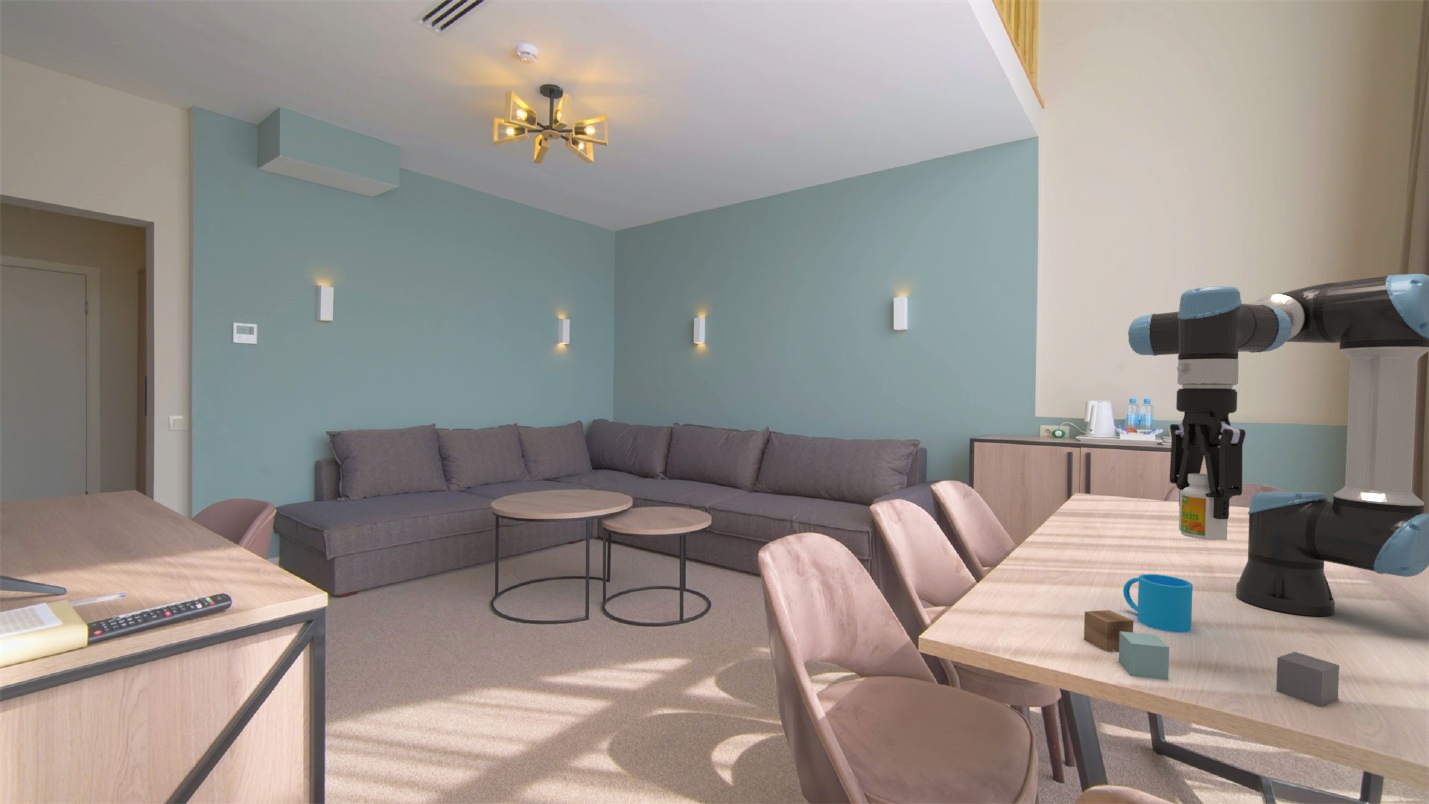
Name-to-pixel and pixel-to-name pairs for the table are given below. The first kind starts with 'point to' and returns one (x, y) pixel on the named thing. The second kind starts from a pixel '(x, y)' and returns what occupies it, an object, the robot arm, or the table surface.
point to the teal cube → (1144, 655)
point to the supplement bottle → (1194, 506)
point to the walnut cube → (1105, 628)
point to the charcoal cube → (1307, 678)
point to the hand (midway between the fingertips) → (1202, 534)
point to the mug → (1162, 602)
